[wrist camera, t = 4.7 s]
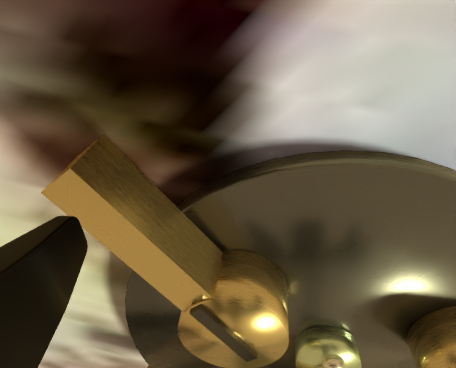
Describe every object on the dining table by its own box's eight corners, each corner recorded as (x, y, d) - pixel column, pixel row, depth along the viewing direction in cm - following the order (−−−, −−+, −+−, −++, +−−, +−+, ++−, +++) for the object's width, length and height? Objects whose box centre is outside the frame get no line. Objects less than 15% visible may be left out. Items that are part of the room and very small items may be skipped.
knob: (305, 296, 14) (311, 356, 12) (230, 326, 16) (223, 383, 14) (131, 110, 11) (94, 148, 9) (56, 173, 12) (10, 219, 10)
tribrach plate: (305, 443, 24) (309, 494, 22) (68, 307, 19) (38, 356, 17) (632, 341, 15) (696, 409, 13) (362, 27, 10) (389, 49, 8)
